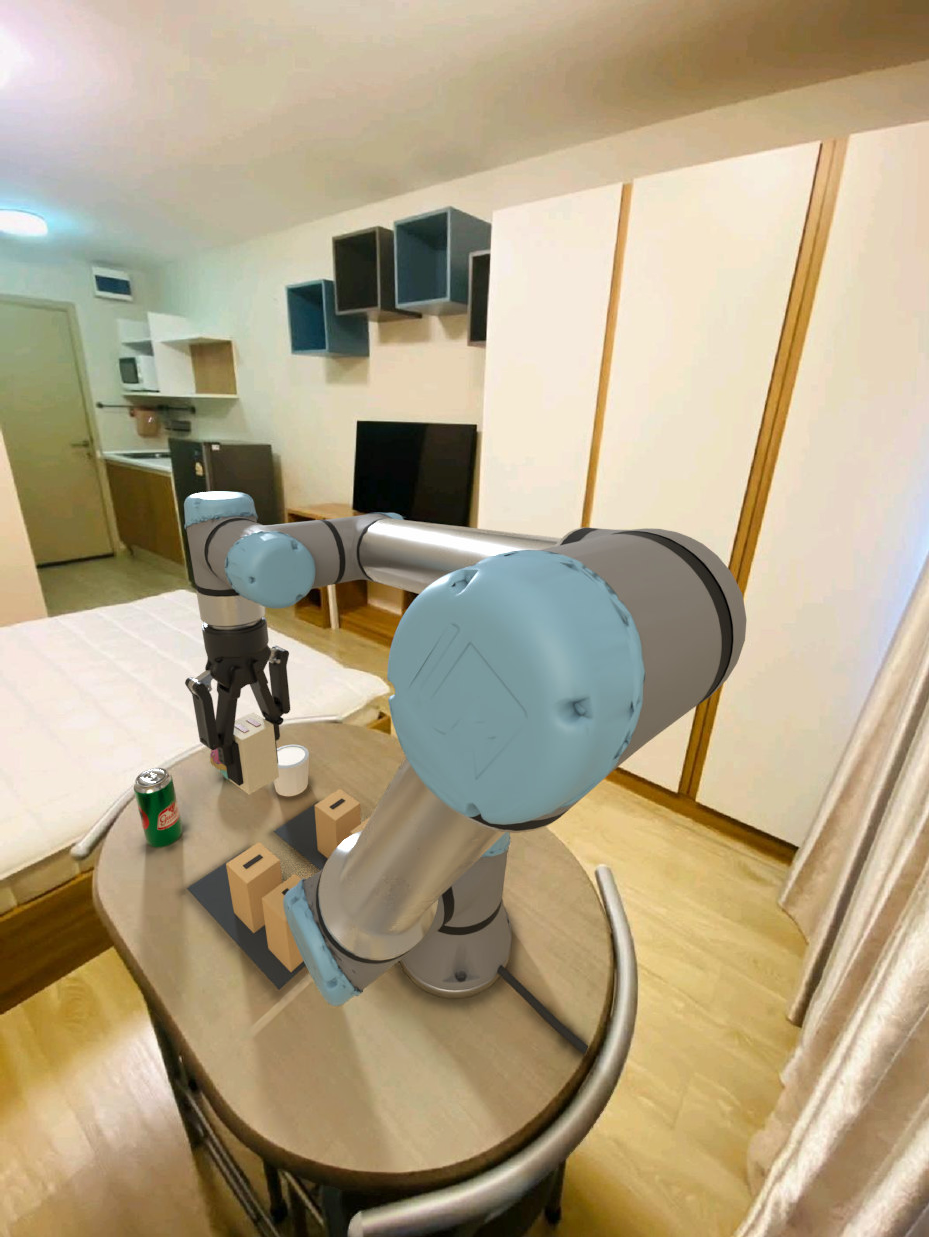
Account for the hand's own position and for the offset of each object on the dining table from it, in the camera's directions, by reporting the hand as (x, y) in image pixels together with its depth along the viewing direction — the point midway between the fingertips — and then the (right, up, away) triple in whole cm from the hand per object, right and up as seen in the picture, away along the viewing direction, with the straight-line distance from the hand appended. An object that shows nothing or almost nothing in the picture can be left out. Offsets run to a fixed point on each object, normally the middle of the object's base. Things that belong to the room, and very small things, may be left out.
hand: (253, 770), depth 74 cm
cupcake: (-13, -8, +24) cm, 28 cm away
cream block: (0, -1, +1) cm, 2 cm away
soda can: (-18, -14, +9) cm, 24 cm away
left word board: (+2, -19, -2) cm, 19 cm away
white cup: (-2, -9, +21) cm, 23 cm away
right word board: (+10, -15, +8) cm, 20 cm away
